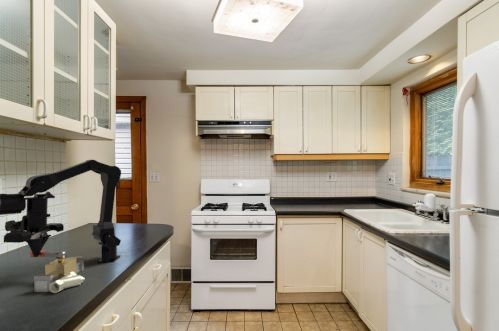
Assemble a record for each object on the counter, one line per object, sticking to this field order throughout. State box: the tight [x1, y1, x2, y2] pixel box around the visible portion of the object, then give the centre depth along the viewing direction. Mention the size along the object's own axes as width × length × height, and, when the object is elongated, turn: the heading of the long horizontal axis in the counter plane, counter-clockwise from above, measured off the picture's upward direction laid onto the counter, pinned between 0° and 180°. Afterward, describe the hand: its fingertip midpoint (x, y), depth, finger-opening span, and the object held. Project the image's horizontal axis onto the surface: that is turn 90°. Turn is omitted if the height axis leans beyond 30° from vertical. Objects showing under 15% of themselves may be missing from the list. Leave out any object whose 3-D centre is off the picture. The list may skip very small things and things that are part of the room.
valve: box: [33, 256, 85, 293], centre depth 93 cm, size 18×6×8 cm, turn 1°
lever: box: [29, 249, 68, 260], centre depth 94 cm, size 13×3×2 cm, turn 83°
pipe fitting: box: [49, 271, 85, 294], centre depth 88 cm, size 8×4×7 cm
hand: (35, 256), depth 92 cm, fingers closed
